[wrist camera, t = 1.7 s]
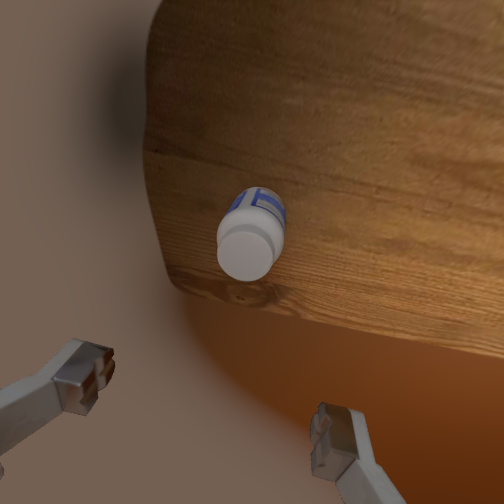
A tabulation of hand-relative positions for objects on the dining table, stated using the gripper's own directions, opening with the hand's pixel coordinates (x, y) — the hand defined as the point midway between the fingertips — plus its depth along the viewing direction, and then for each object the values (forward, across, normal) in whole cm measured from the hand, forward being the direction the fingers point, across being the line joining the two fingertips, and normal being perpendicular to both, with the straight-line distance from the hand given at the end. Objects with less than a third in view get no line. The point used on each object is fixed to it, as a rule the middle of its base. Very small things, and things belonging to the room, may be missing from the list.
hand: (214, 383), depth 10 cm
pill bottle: (+19, 0, 0) cm, 19 cm away
